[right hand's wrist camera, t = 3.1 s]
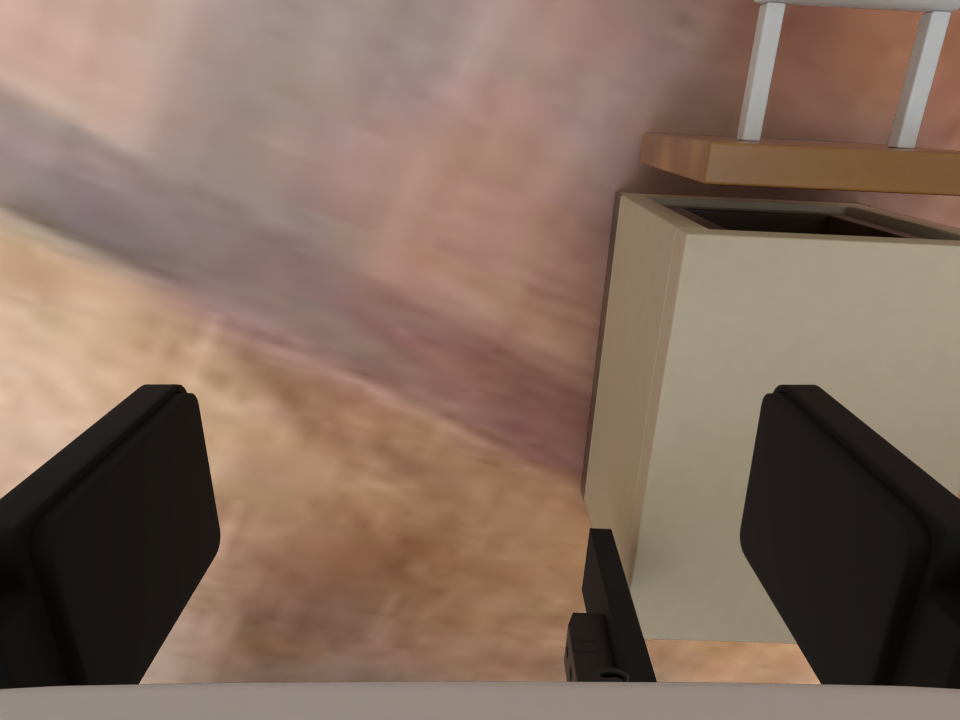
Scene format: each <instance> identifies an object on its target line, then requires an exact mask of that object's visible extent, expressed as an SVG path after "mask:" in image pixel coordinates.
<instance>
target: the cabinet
mask: <svg viewBox="0 0 960 720" xmlns="http://www.w3.org/2000/svg"><path fill="white" fill-rule="evenodd" d="M663 205H673V206H695V207H716V208H738V209H760V210H782V211H804V212H825V213H839V214H842V215H845V216H850V217H853V218H857V219H860V220H864V221H867V222H871V223H874V224H878V225H881V226H885V227H888V228H892V229H895V230H899V231H902V232H906V233H909V234H913V235H916V236H920V237H923V238H927V239H915V238H892V237H870V236H848V235H826V234H804V233H782V232H760V231H738V230H716V229H707V228H706V227H704V226H702V225H700V224H698V223H696V222H694V221H692V220H690V219H688V218H686V217H684V216H682V215H680V214H678V213H676V212H674V211H672V210H670V209H668V208H667V207H665V206H663ZM778 385H817V386H819V387H820V388H822V389H823V390H824V391H825V392H827V393H828V394H829V395H830V396H832V397H833V398H834V399H835V400H837V401H838V402H839V403H840V404H842V405H843V406H844V407H845V408H847V409H848V410H849V411H850V412H852V413H853V414H854V415H855V416H857V417H858V418H859V419H860V420H862V421H863V422H864V423H865V424H866V425H868V426H869V427H870V428H871V429H873V430H874V431H875V432H876V433H878V434H879V435H880V436H881V437H883V438H884V439H885V440H886V441H888V442H889V443H890V444H891V445H893V446H894V447H895V448H896V449H898V450H899V451H900V452H901V453H903V454H904V455H905V456H906V457H908V458H909V459H910V460H911V461H913V462H914V463H915V464H916V465H918V466H919V467H920V468H921V469H923V470H924V471H925V472H926V473H928V474H929V475H930V476H931V477H933V478H934V479H935V480H936V481H938V482H939V483H940V484H941V485H943V486H944V487H945V488H946V489H948V490H949V491H950V492H951V493H952V494H954V495H955V496H956V497H958V494H959V491H960V229H959V228H955V227H951V226H947V225H943V224H938V223H934V222H930V221H926V220H922V219H918V218H914V217H910V216H906V215H902V214H898V213H894V212H890V211H885V210H881V209H877V208H873V207H871V206H868V205H864V204H860V203H838V202H816V201H794V200H773V199H751V198H730V197H708V196H686V195H665V194H643V193H622V192H616V194H615V203H614V211H613V220H612V228H611V237H610V245H609V254H608V262H607V270H606V279H605V287H604V296H603V304H602V313H601V321H600V330H599V338H598V347H597V355H596V364H595V372H594V381H593V389H592V398H591V406H590V415H589V423H588V432H587V440H586V448H585V457H584V465H583V474H582V482H581V493H582V497H583V500H584V501H585V505H586V508H587V512H588V516H589V519H590V523H591V526H592V528H599V529H612V533H613V536H614V539H615V543H616V546H617V550H618V553H619V556H620V560H621V563H622V566H623V570H624V573H625V577H626V580H627V583H628V587H629V590H630V593H631V597H632V600H633V604H634V607H635V610H636V614H637V617H638V620H639V624H640V627H641V630H642V634H643V637H644V639H667V640H698V641H730V642H761V643H793V644H797V642H796V641H795V639H794V637H793V636H792V634H791V632H790V631H789V629H788V627H787V626H786V624H785V622H784V621H783V619H782V617H781V616H780V614H779V612H778V611H777V609H776V607H775V606H774V604H773V602H772V601H771V599H770V597H769V596H768V594H767V592H766V591H765V589H764V587H763V586H762V584H761V582H760V581H759V579H758V577H757V576H756V574H755V572H754V571H753V569H752V567H751V566H750V564H749V562H748V561H747V559H746V557H745V556H744V554H743V552H742V548H741V544H740V527H741V522H742V516H743V510H744V504H745V498H746V492H747V486H748V480H749V474H750V469H751V463H752V457H753V451H754V445H755V439H756V433H757V427H758V421H759V416H760V410H761V404H762V400H763V398H764V396H765V395H766V394H768V393H773V392H774V390H775V388H776V387H777V386H778Z"/></svg>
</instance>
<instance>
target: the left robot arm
mask: <svg viewBox="0 0 960 720" xmlns="http://www.w3.org/2000/svg"><path fill="white" fill-rule="evenodd" d="M582 592H583V597H584V602H585V607H586V612H587V613H573V614H572V617H571V619H570V622H569V625H568V632H567V641H566V649H565V657H564V664H565V671H566V676H567V677H566V678H567V682H657V681H656V678H655V674H654V671H653V668H652V664H651V661H650V657H649V654H648V651H647V647H646V644H645V641H644V637H643V634H642V630H641V627H640V624H639V620H638V617H637V614H636V610H635V607H634V604H633V600H632V597H631V593H630V590H629V587H628V583H627V580H626V577H625V573H624V570H623V566H622V563H621V560H620V556H619V553H618V550H617V546H616V543H615V539H614V536H613V533H612V529H599V528H590V532H589V540H588V547H587V555H586V563H585V570H584V578H583V586H582Z"/></svg>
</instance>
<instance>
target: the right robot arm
mask: <svg viewBox="0 0 960 720" xmlns="http://www.w3.org/2000/svg"><path fill="white" fill-rule="evenodd" d="M219 544H220V527H219V522H218V516H217V510H216V504H215V498H214V492H213V486H212V480H211V474H210V469H209V463H208V457H207V451H206V445H205V439H204V433H203V427H202V421H201V416H200V410H199V404H198V400H197V398H196V396H195V395H194V394H192V393H187V392H186V390H185V388H184V387H183V386H182V385H143V386H141V387H140V388H138V389H137V390H136V391H135V392H133V393H132V394H131V395H130V396H128V397H127V398H126V399H125V400H123V401H122V402H121V403H120V404H118V405H117V406H116V407H115V408H113V409H112V410H111V411H110V412H108V413H107V414H106V415H105V416H103V417H102V418H101V419H100V420H98V421H97V422H96V423H95V424H94V425H92V426H91V427H90V428H89V429H87V430H86V431H85V432H84V433H82V434H81V435H80V436H79V437H77V438H76V439H75V440H74V441H72V442H71V443H70V444H69V445H67V446H66V447H65V448H64V449H62V450H61V451H60V452H59V453H57V454H56V455H55V456H54V457H52V458H51V459H50V460H49V461H47V462H46V463H45V464H44V465H42V466H41V467H40V468H39V469H37V470H36V471H35V472H34V473H32V474H31V475H30V476H29V477H27V478H26V479H25V480H24V481H22V482H21V483H20V484H19V485H17V486H16V487H15V488H14V489H12V490H11V491H10V492H9V493H8V494H6V495H5V496H4V497H3V498H1V499H0V720H960V499H959V498H957V497H956V496H955V495H954V494H952V493H951V492H950V491H949V490H948V489H946V488H945V487H944V486H943V485H941V484H940V483H939V482H938V481H936V480H935V479H934V478H933V477H931V476H930V475H929V474H928V473H926V472H925V471H924V470H923V469H921V468H920V467H919V466H918V465H916V464H915V463H914V462H913V461H911V460H910V459H909V458H908V457H906V456H905V455H904V454H903V453H901V452H900V451H899V450H898V449H896V448H895V447H894V446H893V445H891V444H890V443H889V442H888V441H886V440H885V439H884V438H883V437H881V436H880V435H879V434H878V433H876V432H875V431H874V430H873V429H871V428H870V427H869V426H868V425H866V424H865V423H864V422H863V421H862V420H860V419H859V418H858V417H857V416H855V415H854V414H853V413H852V412H850V411H849V410H848V409H847V408H845V407H844V406H843V405H842V404H840V403H839V402H838V401H837V400H835V399H834V398H833V397H832V396H830V395H829V394H828V393H827V392H825V391H824V390H823V389H822V388H820V387H819V386H817V385H778V386H777V387H776V388H775V390H774V392H773V393H768V394H766V395H765V396H764V398H763V400H762V404H761V410H760V416H759V421H758V427H757V433H756V439H755V445H754V451H753V457H752V463H751V469H750V474H749V480H748V486H747V492H746V498H745V504H744V510H743V516H742V522H741V527H740V544H741V548H742V552H743V554H744V556H745V557H746V559H747V561H748V562H749V564H750V566H751V567H752V569H753V571H754V572H755V574H756V576H757V577H758V579H759V581H760V582H761V584H762V586H763V587H764V589H765V591H766V592H767V594H768V596H769V597H770V599H771V601H772V602H773V604H774V606H775V607H776V609H777V611H778V612H779V614H780V616H781V617H782V619H783V621H784V622H785V624H786V626H787V627H788V629H789V631H790V632H791V634H792V636H793V637H794V639H795V641H796V642H797V644H798V646H799V647H800V649H801V651H802V652H803V654H804V656H805V657H806V659H807V661H808V663H809V664H810V666H811V668H812V669H813V671H814V673H815V674H816V676H817V678H818V679H819V681H820V683H821V684H822V685H821V684H768V683H697V682H485V681H475V682H263V683H192V684H139V683H140V681H141V679H142V678H143V676H144V674H145V673H146V671H147V669H148V668H149V666H150V664H151V663H152V661H153V659H154V657H155V656H156V654H157V652H158V651H159V649H160V647H161V646H162V644H163V642H164V641H165V639H166V637H167V636H168V634H169V632H170V631H171V629H172V627H173V626H174V624H175V622H176V621H177V619H178V617H179V616H180V614H181V612H182V611H183V609H184V607H185V606H186V604H187V602H188V601H189V599H190V597H191V596H192V594H193V592H194V591H195V589H196V587H197V586H198V584H199V582H200V581H201V579H202V577H203V576H204V574H205V572H206V571H207V569H208V567H209V566H210V564H211V562H212V561H213V559H214V557H215V556H216V554H217V552H218V548H219ZM138 684H139V685H138Z"/></svg>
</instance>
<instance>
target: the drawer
mask: <svg viewBox="0 0 960 720" xmlns="http://www.w3.org/2000/svg"><path fill="white" fill-rule="evenodd" d="M753 1H754V2H756V3H763V5H761V6H760V9H759V15H758V21H757V26H756V32H755V37H754V43H753V49H752V54H751V60H750V65H749V71H748V77H747V82H746V88H745V93H744V99H743V105H742V110H741V116H740V121H739V127H738V133H737V137H724V136H703V135H682V134H662V133H644V135H643V142H642V150H641V158H640V163H642V164H645V165H648V166H651V167H654V168H657V169H660V170H663V171H666V172H669V173H672V174H676V175H679V176H682V177H685V178H688V179H691V180H694V181H697V182H700V183H703V184H714V185H735V186H757V187H778V188H800V189H821V190H843V191H864V192H885V193H907V194H928V195H950V196H960V151H953V150H941V149H929V148H917V147H915V144H916V140H917V136H918V133H919V129H920V125H921V122H922V118H923V114H924V111H925V107H926V103H927V100H928V96H929V92H930V89H931V85H932V82H933V78H934V74H935V71H936V67H937V63H938V60H939V56H940V52H941V49H942V45H943V41H944V38H945V34H946V30H947V27H948V23H949V19H950V16H951V12H954V11H956V10H958V9H960V0H753ZM786 5H801V6H820V7H839V8H858V9H877V10H896V11H915V12H926V13H923V14H922V15H921V18H920V22H919V26H918V30H917V34H916V38H915V42H914V45H913V49H912V53H911V57H910V61H909V65H908V69H907V73H906V76H905V80H904V84H903V88H902V92H901V96H900V100H899V103H898V107H897V111H896V115H895V119H894V123H893V127H892V130H891V134H890V138H889V142H888V145H882V144H869V143H848V142H828V141H807V140H786V139H765V138H760V137H761V132H762V126H763V121H764V116H765V111H766V105H767V100H768V95H769V90H770V84H771V79H772V74H773V69H774V63H775V58H776V53H777V48H778V42H779V37H780V32H781V27H782V21H783V16H784V11H785V6H786ZM663 206H665V207H667V208H668V209H670V210H672V211H674V212H676V213H678V214H680V215H682V216H684V217H686V218H688V219H690V220H692V221H694V222H696V223H698V224H700V225H702V226H704V227H706V228H707V229H716V230H738V231H760V232H782V233H804V234H826V235H848V236H870V237H892V238H915V239H927V238H923V237H920V236H916V235H913V234H909V233H906V232H902V231H899V230H895V229H892V228H888V227H885V226H881V225H878V224H874V223H871V222H867V221H864V220H860V219H857V218H853V217H850V216H845V215H842V214H839V213H825V212H804V211H782V210H760V209H738V208H716V207H695V206H673V205H663Z"/></svg>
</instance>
